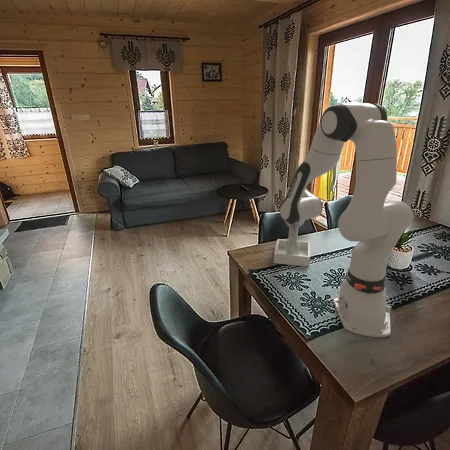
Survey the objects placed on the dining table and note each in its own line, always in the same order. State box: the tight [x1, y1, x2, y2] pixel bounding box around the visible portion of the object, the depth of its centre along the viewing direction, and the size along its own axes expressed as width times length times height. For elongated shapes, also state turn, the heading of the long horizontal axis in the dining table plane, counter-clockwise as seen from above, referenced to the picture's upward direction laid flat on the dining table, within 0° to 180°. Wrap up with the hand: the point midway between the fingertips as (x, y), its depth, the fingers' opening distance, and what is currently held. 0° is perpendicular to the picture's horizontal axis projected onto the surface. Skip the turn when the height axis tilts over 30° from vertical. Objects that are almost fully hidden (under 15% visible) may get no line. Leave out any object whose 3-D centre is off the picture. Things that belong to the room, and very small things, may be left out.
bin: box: [273, 238, 311, 268], centre depth 138 cm, size 16×16×5 cm
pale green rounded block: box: [286, 239, 301, 255], centre depth 138 cm, size 6×6×7 cm
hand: (293, 245), depth 137 cm, fingers open, 7 cm apart
